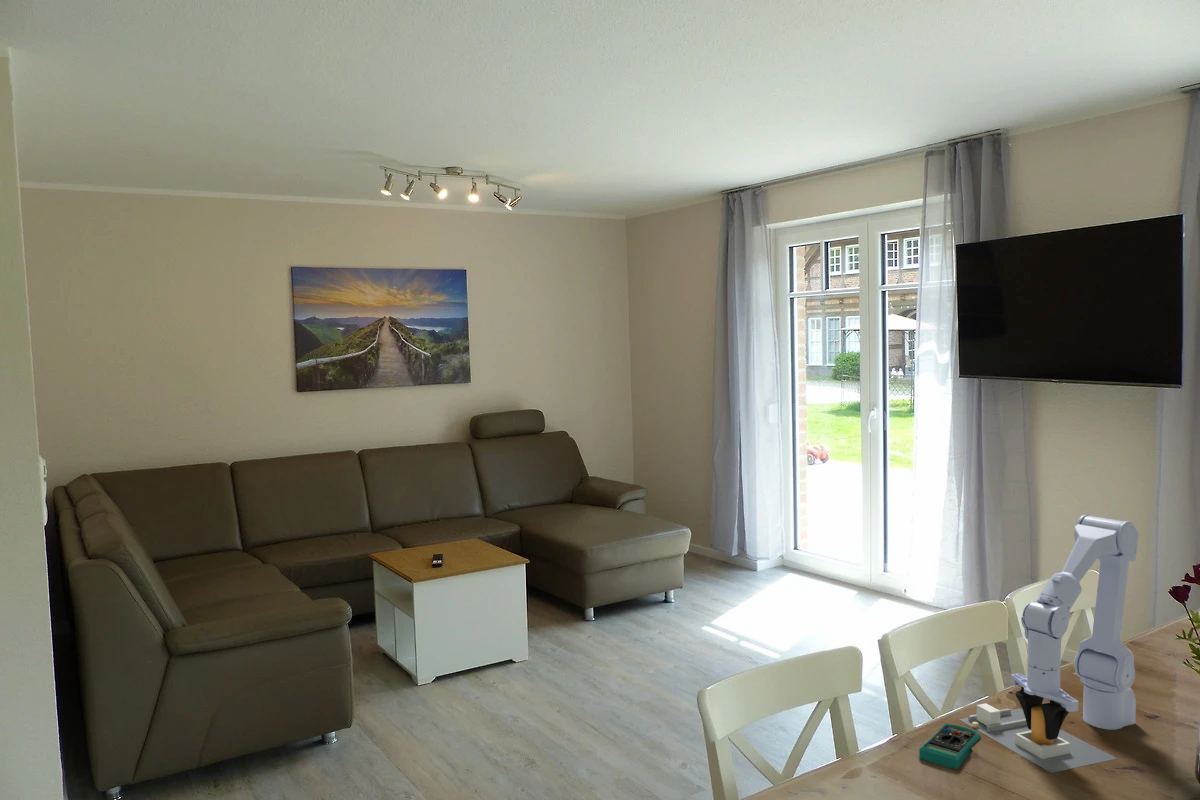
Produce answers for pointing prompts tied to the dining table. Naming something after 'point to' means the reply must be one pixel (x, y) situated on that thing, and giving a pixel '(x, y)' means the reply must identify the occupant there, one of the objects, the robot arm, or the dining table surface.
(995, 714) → the block
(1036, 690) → the robot arm
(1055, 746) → the panel
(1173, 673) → the dining table surface
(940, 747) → the digital multimeter
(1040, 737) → the cap
